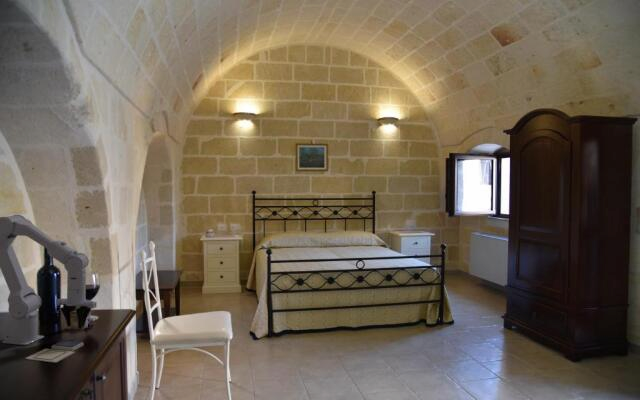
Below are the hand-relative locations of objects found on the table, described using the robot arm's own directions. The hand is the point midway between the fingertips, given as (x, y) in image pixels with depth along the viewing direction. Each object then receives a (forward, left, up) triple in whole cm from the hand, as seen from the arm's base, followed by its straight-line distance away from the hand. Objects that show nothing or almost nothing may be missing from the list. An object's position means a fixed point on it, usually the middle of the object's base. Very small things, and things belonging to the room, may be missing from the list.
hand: (76, 326), depth 154 cm
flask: (-8, +11, -5) cm, 14 cm away
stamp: (0, 0, -2) cm, 2 cm away
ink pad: (+2, -6, -5) cm, 8 cm away
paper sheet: (+2, -14, -5) cm, 15 cm away
